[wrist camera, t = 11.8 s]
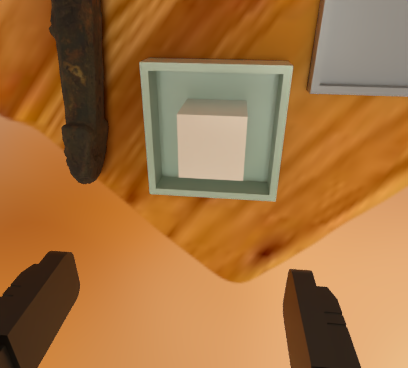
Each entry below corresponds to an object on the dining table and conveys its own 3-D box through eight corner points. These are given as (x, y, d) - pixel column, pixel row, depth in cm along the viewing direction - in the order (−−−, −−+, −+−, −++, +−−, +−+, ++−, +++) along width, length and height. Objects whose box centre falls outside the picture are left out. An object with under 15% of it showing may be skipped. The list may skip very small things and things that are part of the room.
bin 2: (306, 89, 26) (310, 93, 25) (327, -48, 22) (333, -52, 21) (425, 93, 26) (435, 97, 24) (470, -48, 21) (485, -53, 20)
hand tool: (57, -65, 23) (17, -82, 19) (110, -58, 23) (81, -74, 19) (73, 167, 32) (49, 189, 28) (112, 174, 32) (93, 197, 28)
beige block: (188, 153, 29) (178, 177, 25) (187, 98, 27) (176, 114, 23) (242, 156, 29) (243, 181, 25) (246, 100, 27) (247, 116, 22)
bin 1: (157, 179, 32) (149, 194, 29) (149, 57, 26) (139, 62, 24) (272, 185, 31) (275, 201, 28) (287, 60, 26) (293, 65, 23)
